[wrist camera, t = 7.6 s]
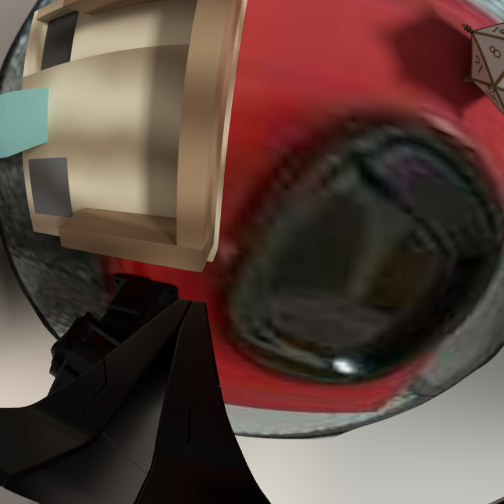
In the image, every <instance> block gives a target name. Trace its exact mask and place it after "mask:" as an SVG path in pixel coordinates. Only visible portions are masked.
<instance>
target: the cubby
mask: <svg viewBox="0 0 504 504" xmlns="http://www.w3.org/2000/svg"><path fill="white" fill-rule="evenodd" d="M156 1H163V0H64V3H63V6H62V7H64V8H68V9H72V10H76V11H79V12H83V13H86V14H89V15H96V14H99V13H103V12H107V11H111V10H115V9H119V8H123V7H128V6H133V5H138V4H143V3H149V2H156ZM241 3H242V0H197V5H196V11H195V16H194V21H193V27H192V33H191V39H190V45H189V52H188V59H187V67H186V75H185V83H184V92H183V102H182V113H181V125H180V138H179V155H178V177H177V218H170V217H162V216H154V215H146V214H138V213H130V212H121V211H112V210H103V209H94V208H84V209H82V210H81V211H79V212H78V213H77V214H75V215H74V216H72V217H71V218H70V219H68V220H67V221H66V222H64V223H63V224H62V225H60V226H59V227H58V231H59V236H60V240H61V245H62V247H66V248H71V249H76V250H81V251H86V252H91V253H96V254H101V255H107V256H112V257H117V258H122V259H128V260H133V261H139V262H144V263H150V264H156V265H161V266H167V267H173V268H179V269H185V270H191V271H197V272H202V271H203V269H204V266H205V264H206V261H207V259H208V256H209V254H210V251H211V249H212V247H213V244H214V233H215V219H216V206H217V194H218V182H219V171H220V160H221V150H222V141H223V131H224V122H225V114H226V105H227V97H228V89H229V81H230V74H231V67H232V60H233V53H234V46H235V40H236V33H237V27H238V21H239V15H240V9H241Z"/></svg>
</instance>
